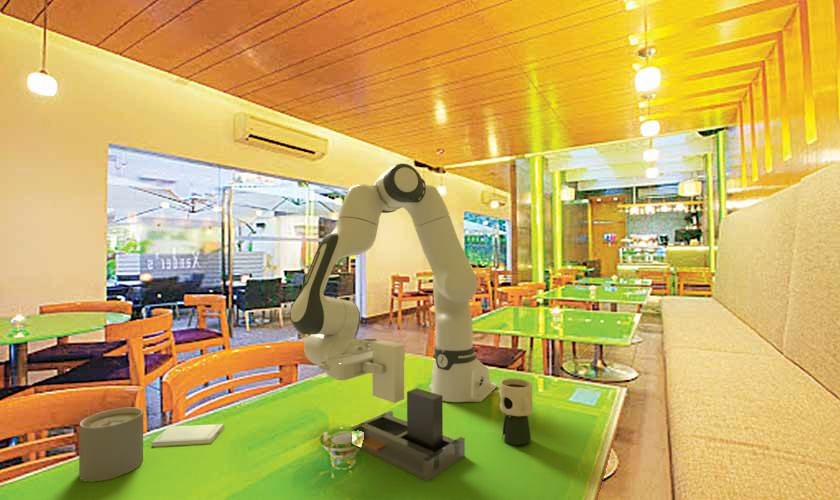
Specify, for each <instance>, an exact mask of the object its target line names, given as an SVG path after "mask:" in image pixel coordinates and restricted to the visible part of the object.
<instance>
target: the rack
mask: <svg viewBox="0 0 840 500" xmlns="http://www.w3.org/2000/svg"><path fill="white" fill-rule="evenodd" d="M406 412H407V413H406V420H407V421H406V420H403V419H401V418H399V417H396V416H394V412H393V411H391V410H389V411H387V412H385V413H382V414H379V415H377V416H375V417H373V418H371V419H368V420H365V421H363V422H361V423H359V424H356V425H354V426H351V427H350V428H351V431H357V430H359V431H362V432H364V440H363V443H362V447H361V449H360V450H362V451H365V453H368V454H371V455H372V456H374V457H377V458H378V459H381V460H383V461H385V462H387V463H389V464H391V465H393V466H395V467H397V468H399V469H401V470H403V471H405V472H407V473H410V474H411V475H412V476H416V477H418V478H419V479H422V480H423V481H424V482H429V481H430V480H432V479H433V478H435V477H436V476H438V475H439V474H441V473H442V472H444V471H445V470H447V469H449V468H450V467H451V466H453V465H454V464H455V463H457V462H459V461H460V460H461V459H463V458H464V457H466V454H465V453H466V451H465V449H466V448H465V445H466V443H465V439H466V438H465V437H462V436H460V437H458V438H457V439H455V438H451V437H449V436H446V435H444V434H443V433H444V431H443V430H444V428H443V423H444V422H443V417H444V416H443V412H444V411H443V401H442V395H438V394H435V393H431V391H427V390H425V389H421V388H418V387H417V388H413V389H411V390H408V391H407V392H406Z"/></svg>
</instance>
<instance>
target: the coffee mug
mask: <svg viewBox="0 0 840 500" xmlns="http://www.w3.org/2000/svg"><path fill="white" fill-rule="evenodd" d="M78 427H79V429H78V430H79V436H78V438H79V442H78V443H79V446H78V447H79V451H78V452H79V454H78V455H79V456H78V460H79V461H78V462H79V463H78V469H79V470H78V478H79V477H80V478H81V479H82V480H86V481H99V482H103V481H102V480H105V481H109V480H113V479H116V477H117V478H119V477H122V476H124V475H123V474H125V475H126V473H127V474H129V473H131V472H132V470H133V469H134V470H136V469H137V468H138V466H139V465H140V464H141V465H142V464H143V462H144V410H143V409H142V408H140V407H133V406H130V407H129V406H128V407H127V406H126V407H118V408H113V409H107V410H104V411H100V412H97V413H94V414H91V415H88V416H87V417H86V418H84V419H82V420H81V421H80V422H79V425H78ZM141 465H140V466H141ZM135 468H136V469H135ZM134 470H133V471H134ZM130 471H131V472H130ZM128 472H129V473H128ZM121 475H122V476H121ZM118 476H119V477H118ZM80 478H79V479H80ZM112 478H113V479H112ZM108 479H109V480H108ZM82 480H81V481H82Z"/></svg>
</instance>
